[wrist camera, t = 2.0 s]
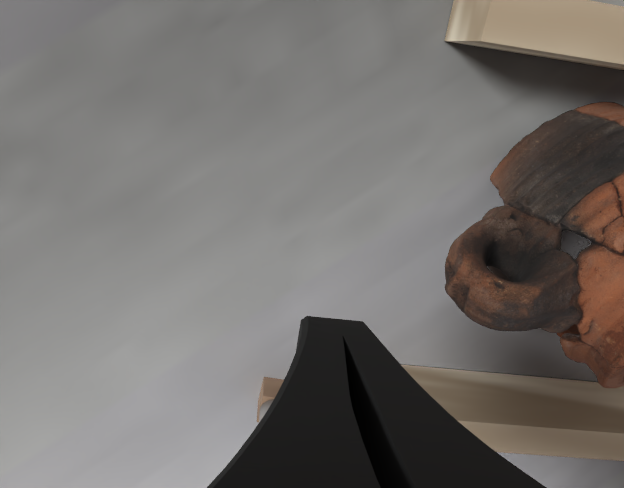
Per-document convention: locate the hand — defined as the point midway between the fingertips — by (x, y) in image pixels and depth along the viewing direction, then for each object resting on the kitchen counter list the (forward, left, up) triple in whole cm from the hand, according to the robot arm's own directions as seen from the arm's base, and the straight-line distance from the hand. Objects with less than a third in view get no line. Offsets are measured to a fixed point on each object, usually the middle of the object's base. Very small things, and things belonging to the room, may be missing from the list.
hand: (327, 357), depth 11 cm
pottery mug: (+1, -11, -10) cm, 15 cm away
